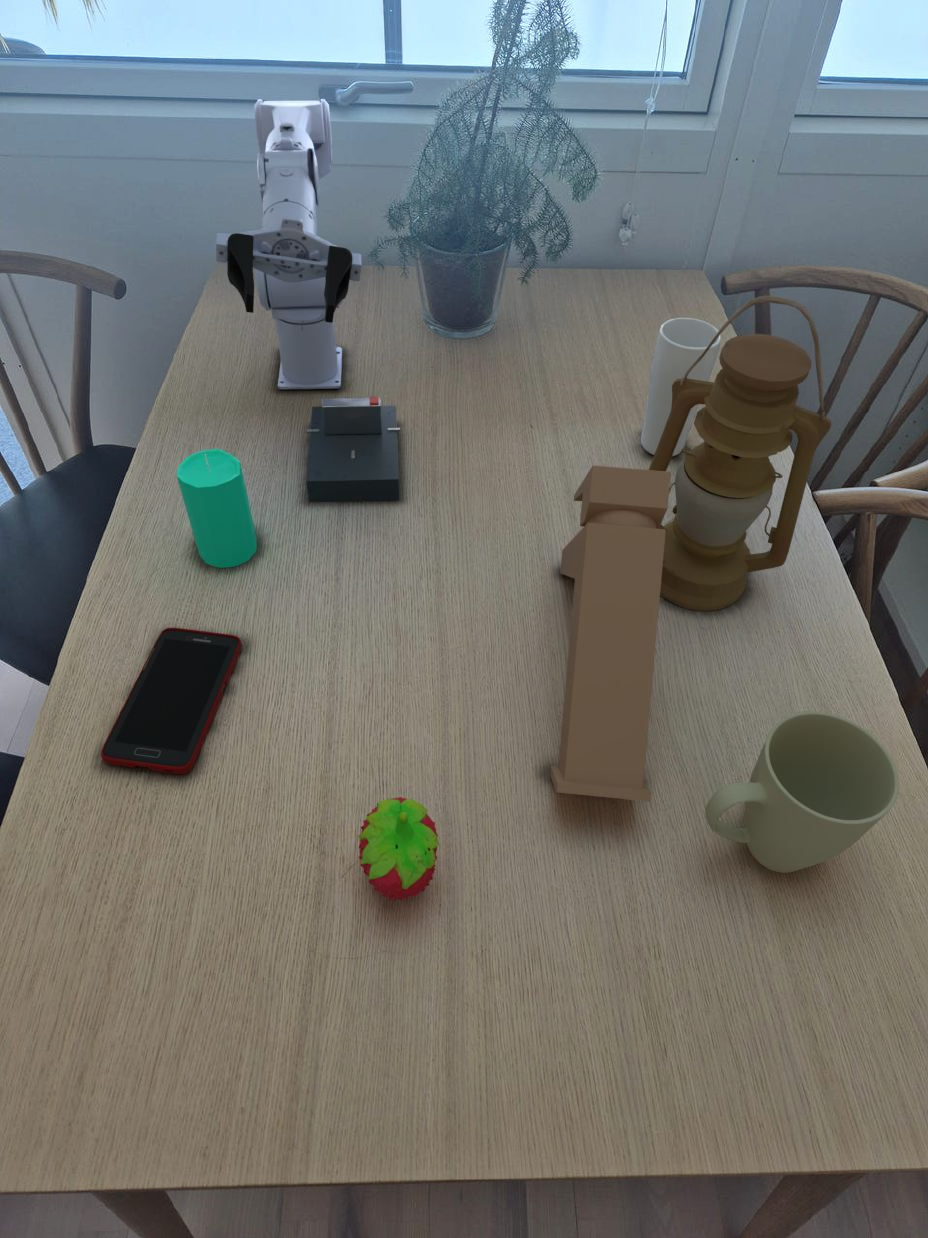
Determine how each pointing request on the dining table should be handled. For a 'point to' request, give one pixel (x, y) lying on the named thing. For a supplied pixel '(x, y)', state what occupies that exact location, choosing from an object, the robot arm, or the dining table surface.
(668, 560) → the lantern
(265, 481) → the dining table surface
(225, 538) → the candle
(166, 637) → the cell phone
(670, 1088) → the dining table surface
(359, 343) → the dining table surface
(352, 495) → the plate
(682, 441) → the white cup
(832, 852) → the mug
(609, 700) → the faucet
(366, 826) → the strawberry
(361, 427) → the tap handle
